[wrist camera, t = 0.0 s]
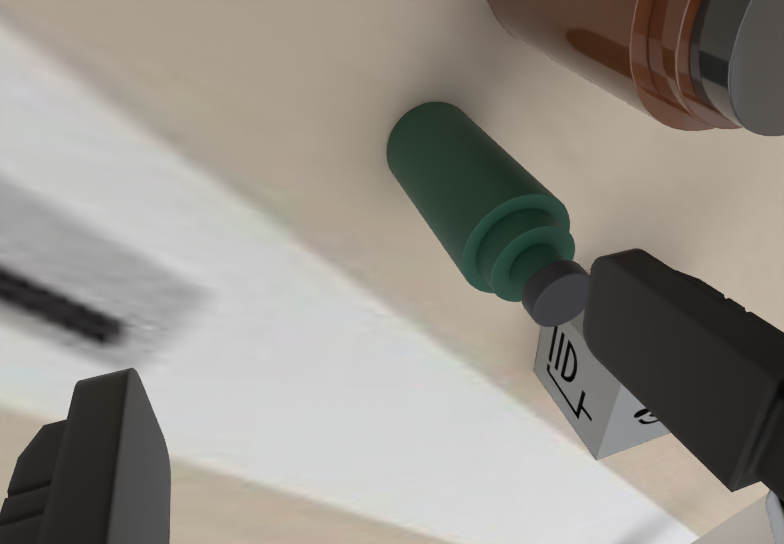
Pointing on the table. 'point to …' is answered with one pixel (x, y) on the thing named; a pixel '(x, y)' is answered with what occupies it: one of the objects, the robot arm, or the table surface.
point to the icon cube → (591, 393)
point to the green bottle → (489, 213)
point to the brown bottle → (667, 55)
